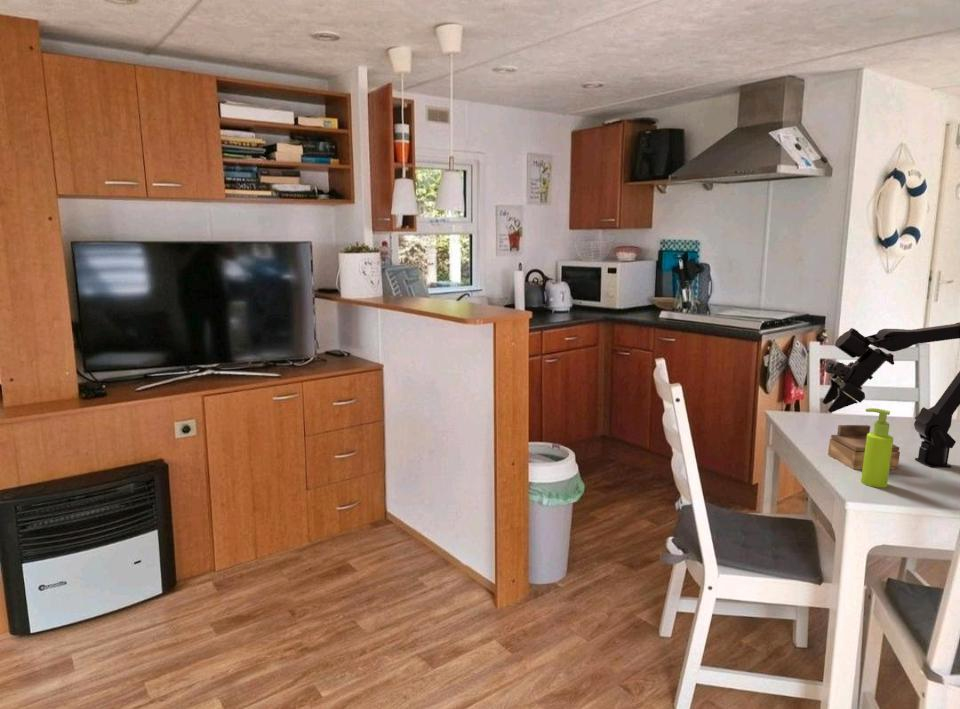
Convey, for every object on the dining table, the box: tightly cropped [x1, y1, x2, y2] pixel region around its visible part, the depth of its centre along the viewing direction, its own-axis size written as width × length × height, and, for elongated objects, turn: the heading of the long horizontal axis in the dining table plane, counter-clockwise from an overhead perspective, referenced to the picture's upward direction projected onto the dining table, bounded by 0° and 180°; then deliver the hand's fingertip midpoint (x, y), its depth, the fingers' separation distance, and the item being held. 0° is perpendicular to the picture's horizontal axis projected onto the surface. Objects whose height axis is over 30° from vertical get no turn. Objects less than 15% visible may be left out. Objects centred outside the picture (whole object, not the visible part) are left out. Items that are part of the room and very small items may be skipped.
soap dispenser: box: [860, 407, 894, 489], centre depth 168 cm, size 6×7×20 cm
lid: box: [830, 424, 900, 452], centre depth 185 cm, size 13×12×4 cm
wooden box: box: [827, 438, 901, 470], centre depth 186 cm, size 13×12×5 cm
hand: (826, 407), depth 190 cm, fingers open, 9 cm apart
